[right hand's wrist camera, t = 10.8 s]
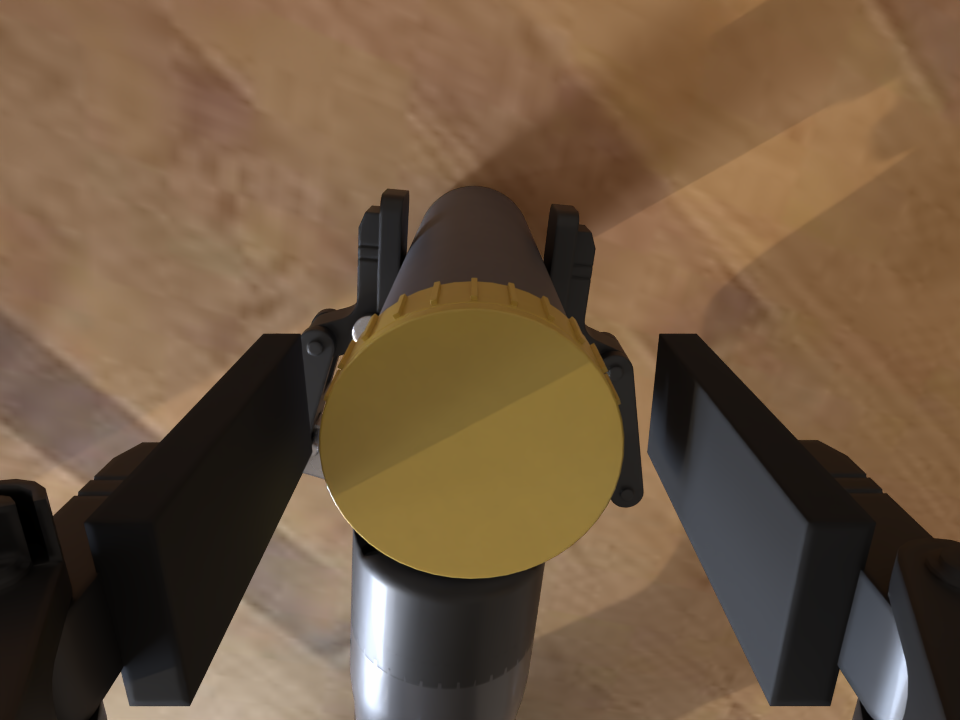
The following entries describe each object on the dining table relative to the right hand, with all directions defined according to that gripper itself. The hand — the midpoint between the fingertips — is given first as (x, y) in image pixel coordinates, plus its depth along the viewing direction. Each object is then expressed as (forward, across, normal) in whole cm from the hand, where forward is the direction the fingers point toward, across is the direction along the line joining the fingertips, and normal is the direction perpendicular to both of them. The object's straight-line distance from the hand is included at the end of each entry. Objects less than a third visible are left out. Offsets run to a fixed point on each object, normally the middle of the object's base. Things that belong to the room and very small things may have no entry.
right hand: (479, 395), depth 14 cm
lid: (-2, 0, 0) cm, 2 cm away
